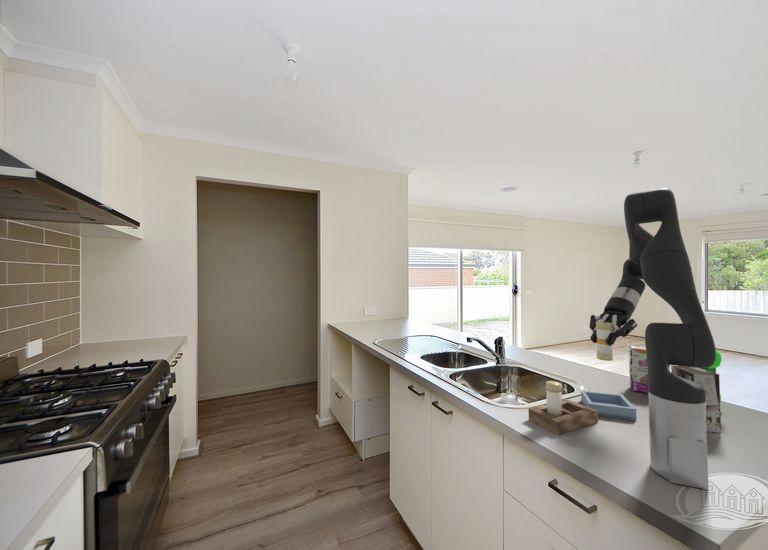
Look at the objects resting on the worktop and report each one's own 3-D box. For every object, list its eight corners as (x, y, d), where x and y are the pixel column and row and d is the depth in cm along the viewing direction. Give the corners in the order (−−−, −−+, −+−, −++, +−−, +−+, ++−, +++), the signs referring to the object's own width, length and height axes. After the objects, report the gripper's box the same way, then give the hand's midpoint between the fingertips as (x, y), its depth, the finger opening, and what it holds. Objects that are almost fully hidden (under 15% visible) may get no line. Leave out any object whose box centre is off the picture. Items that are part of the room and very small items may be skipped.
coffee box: (722, 433, 84) (721, 374, 85) (695, 431, 86) (693, 373, 86) (696, 418, 93) (694, 365, 94) (671, 416, 95) (670, 364, 95)
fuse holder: (566, 409, 101) (566, 398, 101) (597, 422, 92) (597, 410, 92) (528, 419, 95) (528, 408, 95) (558, 434, 85) (557, 422, 85)
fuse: (563, 427, 89) (562, 386, 89) (547, 425, 91) (546, 384, 91) (561, 421, 93) (560, 381, 93) (546, 419, 95) (545, 380, 95)
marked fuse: (614, 361, 98) (613, 323, 98) (598, 360, 99) (597, 323, 99) (610, 357, 102) (609, 321, 102) (595, 356, 103) (594, 321, 103)
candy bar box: (631, 391, 115) (630, 348, 115) (629, 387, 119) (628, 345, 120) (671, 397, 109) (669, 351, 109) (667, 392, 113) (666, 348, 114)
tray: (636, 420, 92) (636, 409, 92) (589, 414, 97) (589, 403, 97) (622, 405, 104) (622, 394, 104) (581, 400, 108) (581, 390, 108)
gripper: (595, 295, 110) (573, 332, 105) (641, 297, 97) (619, 339, 92) (605, 308, 112) (584, 345, 107) (651, 312, 99) (630, 354, 94)
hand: (600, 342), depth 100 cm, fingers closed on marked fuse, 4 cm apart
